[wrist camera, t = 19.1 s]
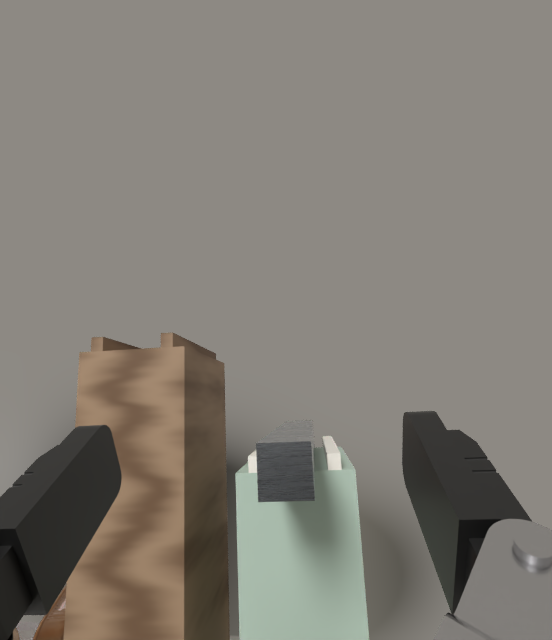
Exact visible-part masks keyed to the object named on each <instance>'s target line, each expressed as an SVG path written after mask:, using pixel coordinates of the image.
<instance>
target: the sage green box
mask: <svg viewBox="0 0 552 640" xmlns="http://www.w3.org/2000/svg"><path fill="white" fill-rule="evenodd" d="M322 440H323V447H322V448H314V450H315V501H286V502H258V485H257V456H256V450H255V451H254V452H253V453H252V454H250V455H249V456H248V462H247V463H246V464H245V465H244V466H243V467H242V468H241V469H240V470H239V471H238V472H237V473H236V508H237V549H238V591H239V633H240V640H369V631H368V618H367V606H366V594H365V581H364V570H363V558H362V546H361V533H360V522H359V509H358V497H357V486H356V473H355V468H354V467H353V465H352V463H351V462H350V460H349V459H348V457H347V456H346V454H345V452H344V451H343V449H342V448H341V447H337V446H336V444H335V442H334V440H333V438H332V437H331V436H322Z"/></svg>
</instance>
